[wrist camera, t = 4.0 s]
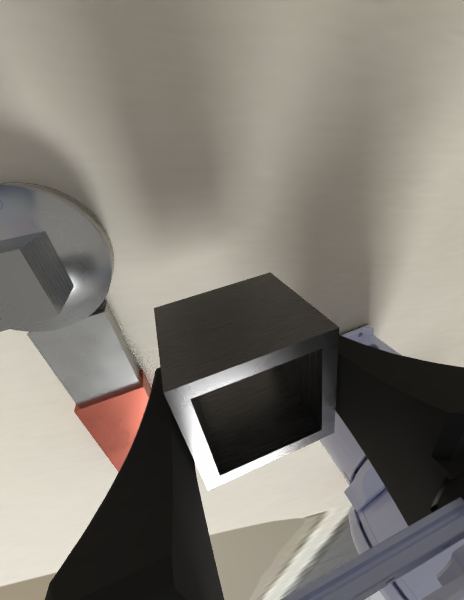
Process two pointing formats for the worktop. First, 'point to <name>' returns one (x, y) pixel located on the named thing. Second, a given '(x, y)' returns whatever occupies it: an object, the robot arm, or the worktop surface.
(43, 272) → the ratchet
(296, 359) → the hollow square tube
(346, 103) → the worktop surface
